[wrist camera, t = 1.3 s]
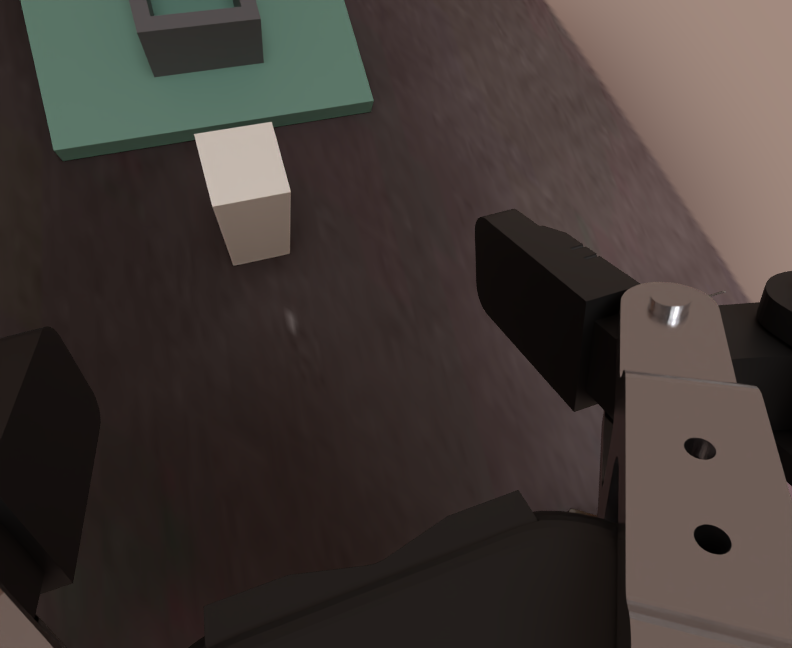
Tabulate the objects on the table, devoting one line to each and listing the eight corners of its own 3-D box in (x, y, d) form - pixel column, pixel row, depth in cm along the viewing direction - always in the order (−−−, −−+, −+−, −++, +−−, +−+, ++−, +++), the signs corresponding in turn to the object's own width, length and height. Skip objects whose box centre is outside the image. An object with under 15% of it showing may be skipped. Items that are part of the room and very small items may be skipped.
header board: (370, 111, 42) (384, 62, 36) (63, 161, 37) (21, 113, 31) (317, -69, 44) (322, -144, 38) (17, -46, 39) (-31, -128, 33)
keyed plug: (289, 253, 39) (290, 191, 28) (233, 265, 38) (212, 206, 27) (272, 189, 39) (266, 104, 29) (216, 199, 38) (189, 116, 28)
